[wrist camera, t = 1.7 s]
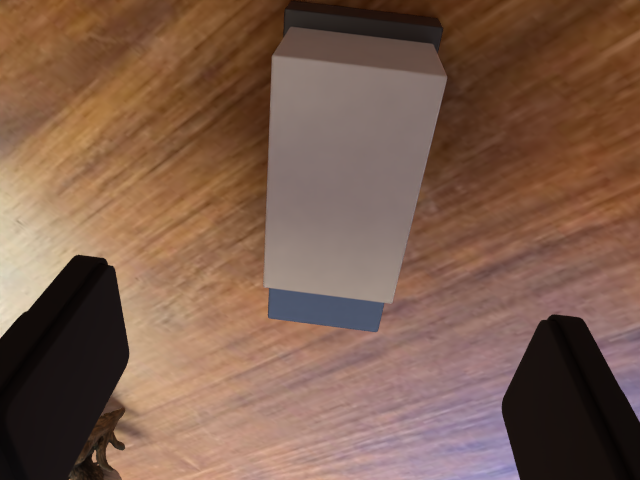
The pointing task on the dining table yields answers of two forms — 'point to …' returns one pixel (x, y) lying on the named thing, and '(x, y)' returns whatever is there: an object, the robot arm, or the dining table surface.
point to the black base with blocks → (346, 158)
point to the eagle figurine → (98, 451)
